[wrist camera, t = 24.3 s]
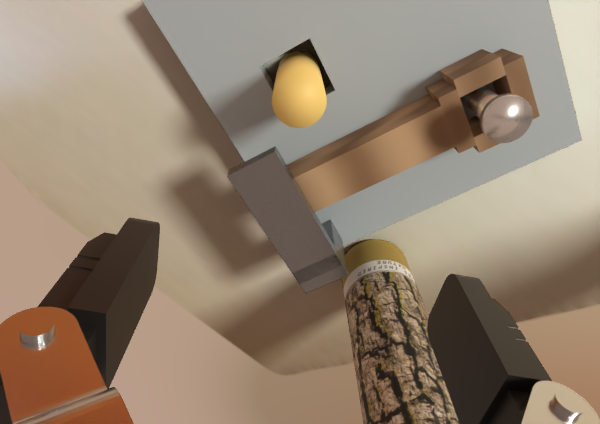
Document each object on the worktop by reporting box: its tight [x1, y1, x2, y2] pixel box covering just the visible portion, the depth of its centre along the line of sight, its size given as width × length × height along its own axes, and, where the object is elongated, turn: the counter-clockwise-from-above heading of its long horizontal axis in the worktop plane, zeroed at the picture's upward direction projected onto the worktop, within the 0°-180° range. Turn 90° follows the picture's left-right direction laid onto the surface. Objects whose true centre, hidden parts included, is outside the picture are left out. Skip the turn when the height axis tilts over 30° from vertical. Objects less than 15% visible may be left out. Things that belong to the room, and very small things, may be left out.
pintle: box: [460, 86, 533, 143], centre depth 34 cm, size 3×3×9 cm
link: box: [287, 48, 540, 212], centre depth 35 cm, size 21×6×4 cm, turn 118°
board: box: [142, 0, 582, 246], centre depth 36 cm, size 26×26×2 cm
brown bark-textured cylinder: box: [342, 240, 460, 424], centre depth 35 cm, size 7×7×25 cm
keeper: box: [227, 146, 348, 293], centre depth 38 cm, size 12×4×8 cm, turn 28°
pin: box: [272, 51, 327, 128], centre depth 33 cm, size 4×4×9 cm
